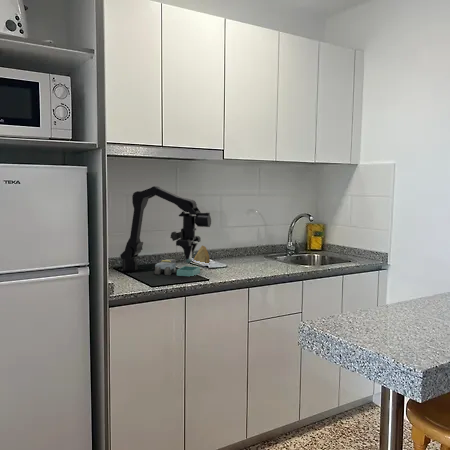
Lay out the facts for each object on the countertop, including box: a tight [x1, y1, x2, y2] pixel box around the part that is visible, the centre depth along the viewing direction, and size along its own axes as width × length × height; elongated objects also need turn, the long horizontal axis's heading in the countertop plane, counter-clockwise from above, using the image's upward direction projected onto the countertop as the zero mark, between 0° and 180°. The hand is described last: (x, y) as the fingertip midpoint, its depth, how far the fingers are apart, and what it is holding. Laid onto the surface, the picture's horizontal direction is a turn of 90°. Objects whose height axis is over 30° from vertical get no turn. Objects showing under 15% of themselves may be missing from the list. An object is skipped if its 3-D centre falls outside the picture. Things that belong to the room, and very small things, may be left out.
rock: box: [193, 245, 211, 263], centre depth 246 cm, size 11×9×10 cm
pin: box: [184, 250, 193, 264], centre depth 216 cm, size 3×3×8 cm
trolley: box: [154, 261, 177, 276], centre depth 218 cm, size 8×10×5 cm
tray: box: [176, 265, 201, 277], centre depth 217 cm, size 8×10×3 cm
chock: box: [160, 258, 177, 263], centre depth 228 cm, size 5×8×5 cm, turn 165°
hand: (188, 258), depth 216 cm, fingers closed on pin, 3 cm apart
